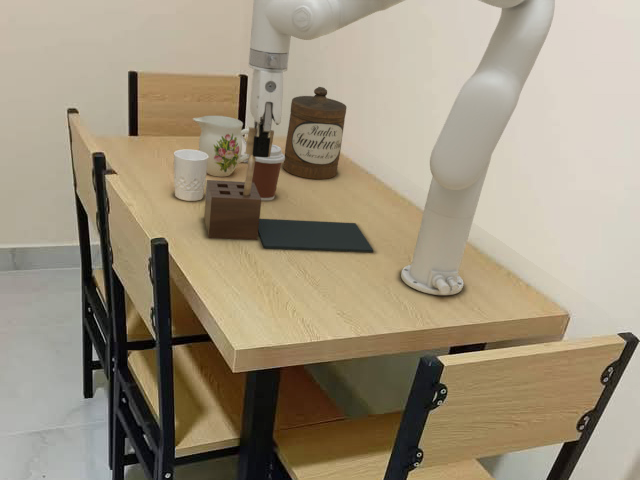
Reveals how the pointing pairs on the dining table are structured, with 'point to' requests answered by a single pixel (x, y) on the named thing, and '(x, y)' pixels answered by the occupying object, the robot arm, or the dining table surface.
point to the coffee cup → (267, 173)
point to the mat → (312, 235)
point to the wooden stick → (252, 158)
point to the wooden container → (314, 136)
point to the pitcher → (221, 143)
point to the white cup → (190, 174)
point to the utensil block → (231, 210)
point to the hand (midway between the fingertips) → (259, 154)
